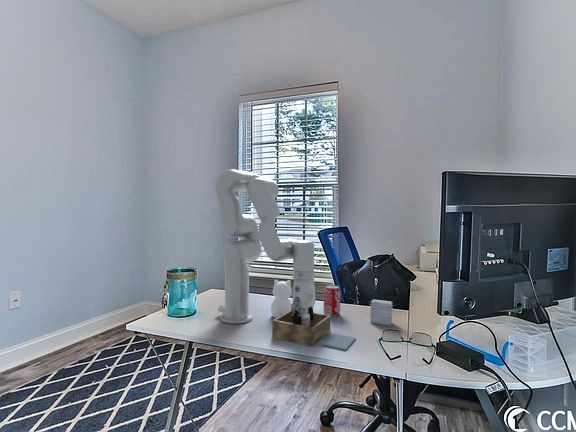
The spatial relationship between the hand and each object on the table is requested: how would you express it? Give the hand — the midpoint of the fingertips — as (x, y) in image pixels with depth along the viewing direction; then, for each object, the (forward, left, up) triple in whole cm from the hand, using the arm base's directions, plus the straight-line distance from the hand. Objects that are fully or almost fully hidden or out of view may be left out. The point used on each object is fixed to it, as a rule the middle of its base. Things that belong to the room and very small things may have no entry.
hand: (303, 323), depth 120 cm
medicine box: (+22, +28, -5) cm, 35 cm away
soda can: (+1, +28, -4) cm, 28 cm away
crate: (0, 0, -4) cm, 4 cm away
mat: (+14, 0, -4) cm, 14 cm away
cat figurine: (-16, +14, -4) cm, 22 cm away
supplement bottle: (0, 0, -4) cm, 4 cm away
